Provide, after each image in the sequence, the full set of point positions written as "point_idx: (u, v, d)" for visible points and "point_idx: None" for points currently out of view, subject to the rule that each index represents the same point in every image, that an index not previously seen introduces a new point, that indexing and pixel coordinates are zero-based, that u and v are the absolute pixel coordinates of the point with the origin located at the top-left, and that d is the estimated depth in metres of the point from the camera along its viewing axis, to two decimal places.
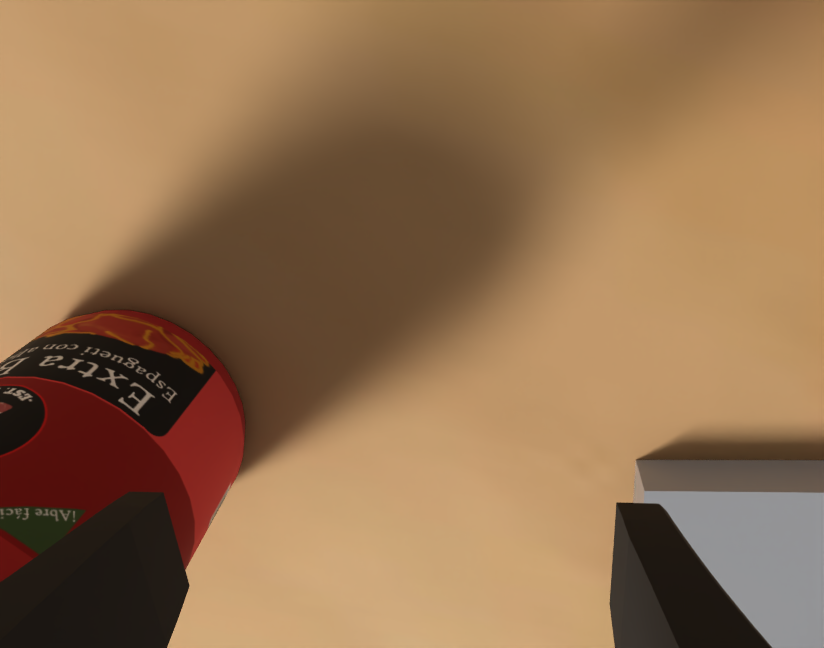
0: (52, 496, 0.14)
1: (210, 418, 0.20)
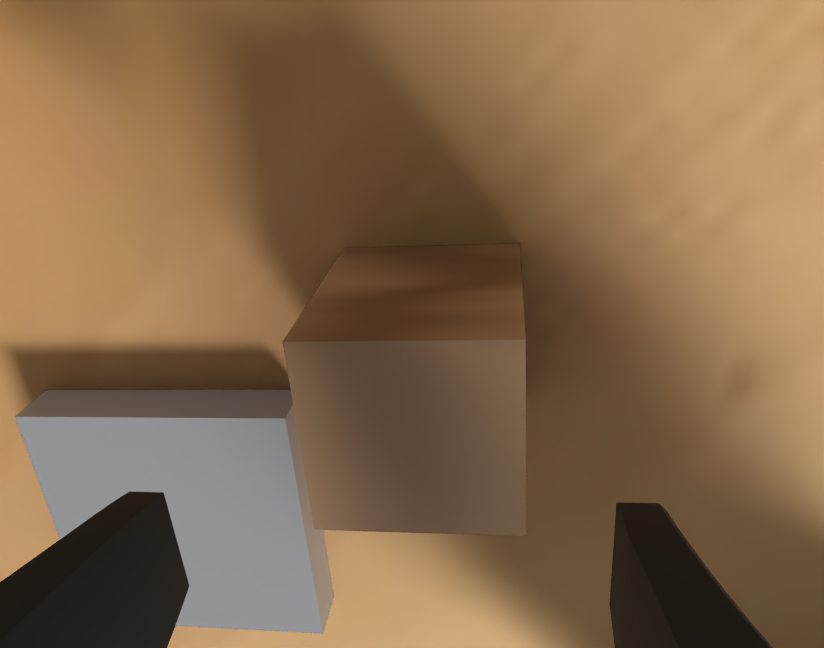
0: None
1: None
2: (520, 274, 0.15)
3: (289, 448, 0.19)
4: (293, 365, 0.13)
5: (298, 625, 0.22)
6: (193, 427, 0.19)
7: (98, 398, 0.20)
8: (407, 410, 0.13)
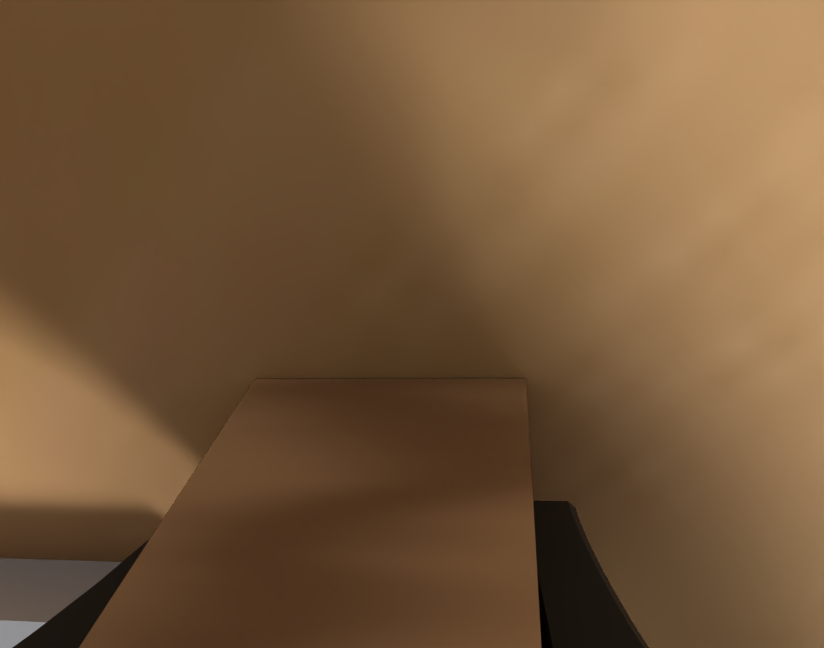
0: None
1: None
2: (528, 464, 0.09)
3: None
4: None
5: None
6: None
7: None
8: None
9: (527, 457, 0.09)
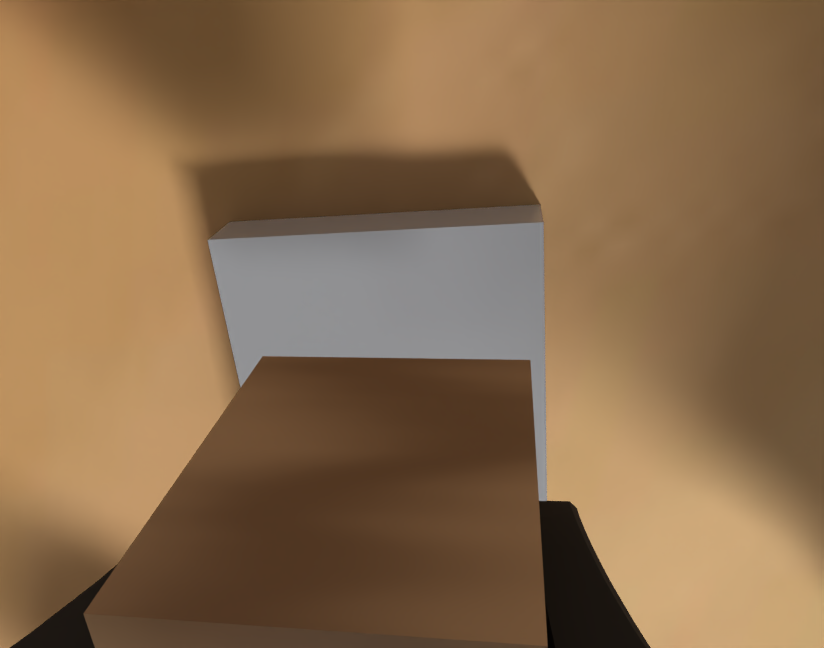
0: None
1: None
2: (532, 438, 0.09)
3: (543, 262, 0.16)
4: None
5: None
6: (425, 240, 0.16)
7: (298, 223, 0.17)
8: None
9: (531, 432, 0.09)
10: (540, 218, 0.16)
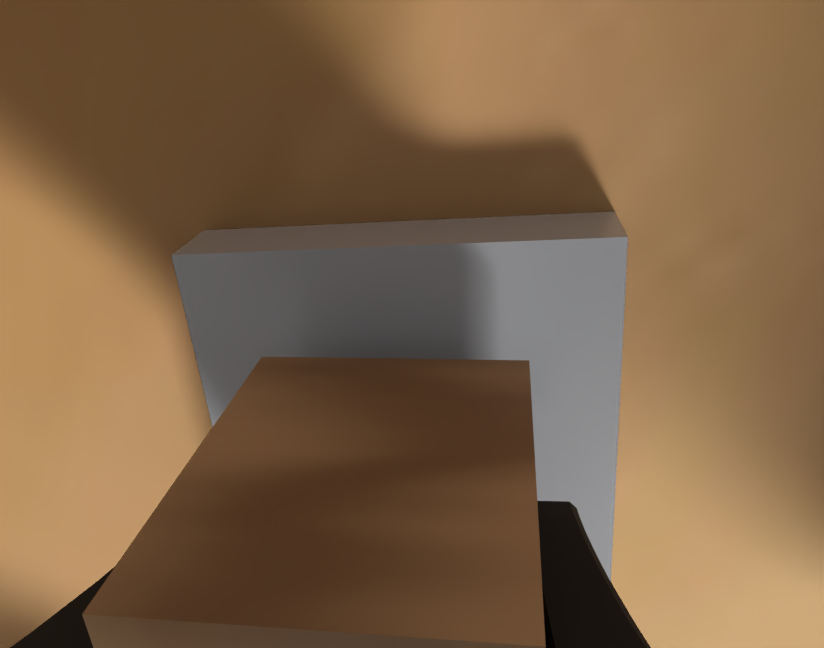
0: None
1: None
2: (531, 439, 0.09)
3: (624, 290, 0.12)
4: None
5: None
6: (465, 259, 0.12)
7: (292, 233, 0.13)
8: None
9: (530, 433, 0.09)
10: (621, 231, 0.12)
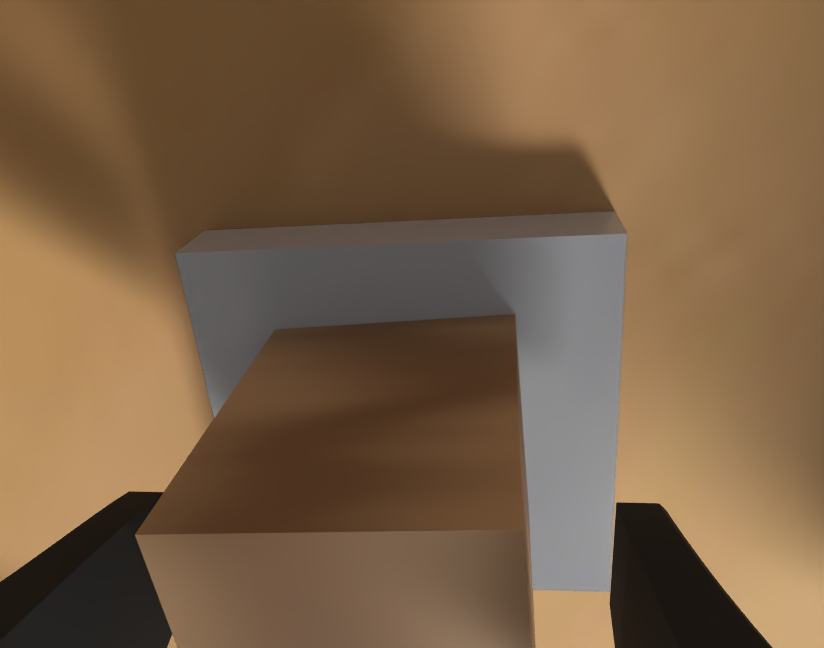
0: None
1: None
2: (515, 377, 0.10)
3: (623, 286, 0.12)
4: (157, 567, 0.08)
5: (573, 580, 0.15)
6: (466, 257, 0.12)
7: (295, 231, 0.13)
8: (342, 628, 0.08)
9: (514, 372, 0.10)
10: (620, 228, 0.12)
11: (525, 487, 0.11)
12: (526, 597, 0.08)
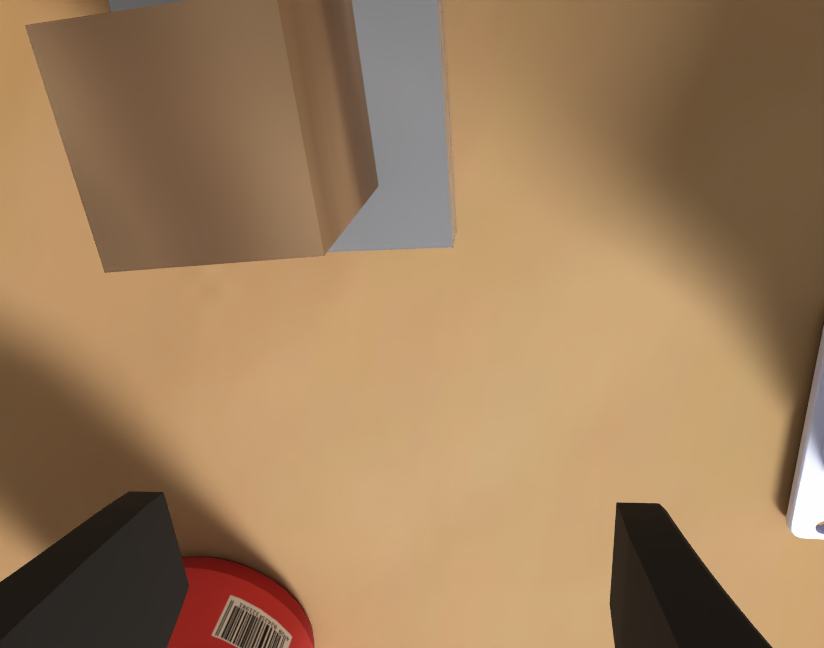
0: None
1: None
2: None
3: None
4: (41, 55, 0.12)
5: (423, 237, 0.18)
6: None
7: None
8: (169, 100, 0.12)
9: None
10: None
11: (346, 104, 0.15)
12: (287, 55, 0.11)
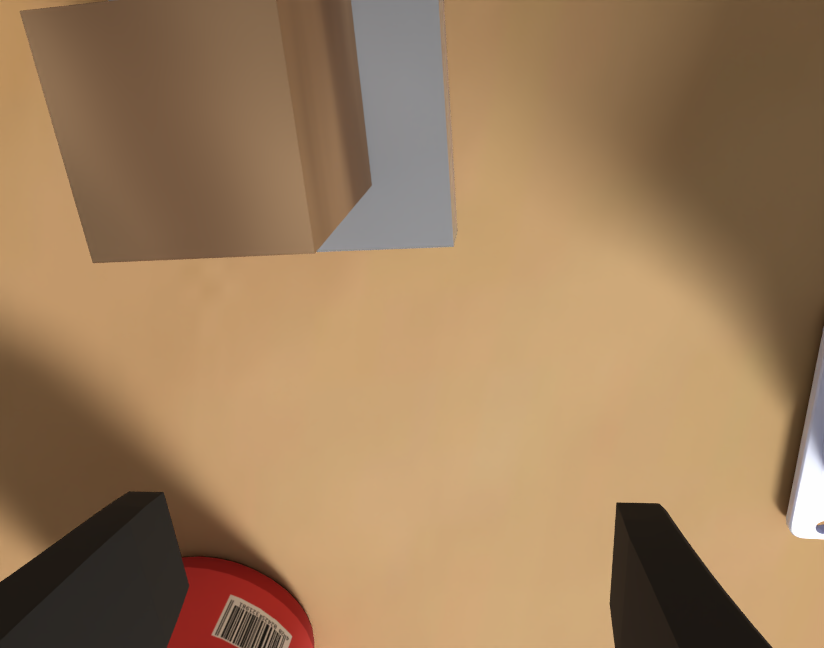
0: None
1: None
2: None
3: None
4: (35, 42, 0.12)
5: (424, 237, 0.18)
6: None
7: None
8: (163, 92, 0.12)
9: None
10: None
11: (342, 102, 0.15)
12: (283, 51, 0.11)
